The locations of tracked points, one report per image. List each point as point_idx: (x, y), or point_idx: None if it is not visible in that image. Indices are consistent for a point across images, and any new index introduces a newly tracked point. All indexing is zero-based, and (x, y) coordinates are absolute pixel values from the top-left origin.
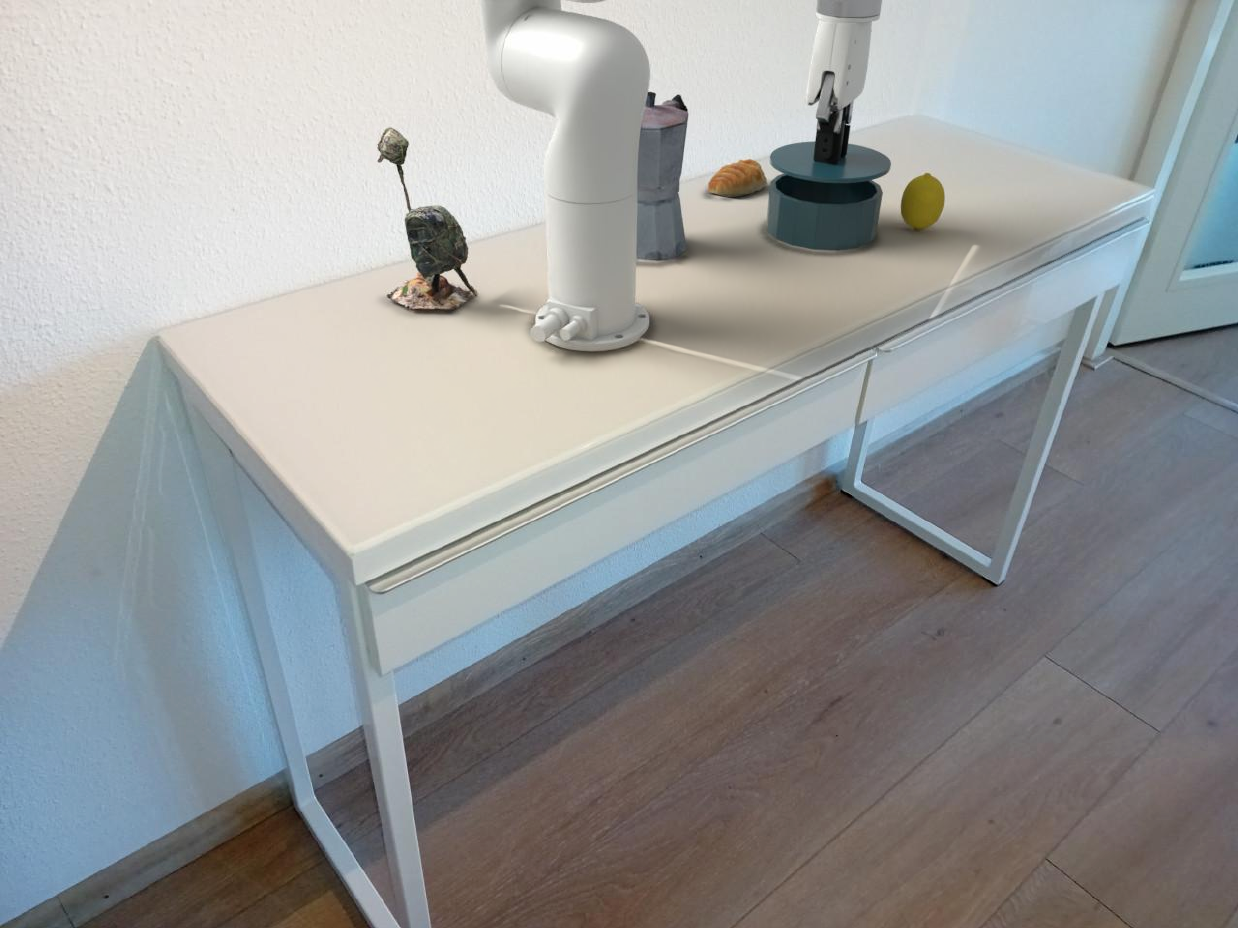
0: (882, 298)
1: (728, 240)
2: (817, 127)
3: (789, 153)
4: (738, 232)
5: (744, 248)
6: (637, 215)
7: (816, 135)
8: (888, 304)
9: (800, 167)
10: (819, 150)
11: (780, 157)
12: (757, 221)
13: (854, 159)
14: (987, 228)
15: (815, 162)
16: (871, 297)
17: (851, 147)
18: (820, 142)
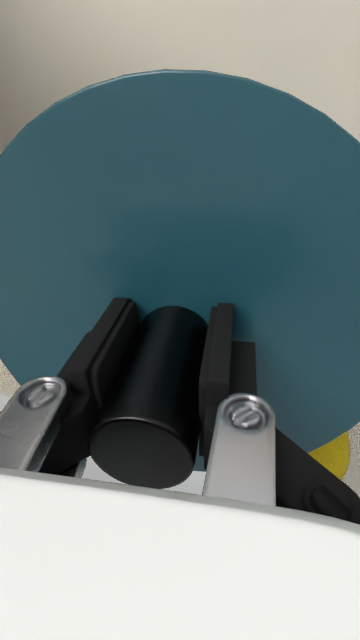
0: (15, 380)
1: (35, 36)
2: (19, 392)
3: (158, 173)
4: (101, 33)
5: (21, 108)
6: None
7: (76, 354)
8: (5, 388)
9: (27, 273)
10: (81, 342)
11: (80, 155)
12: (209, 48)
13: None
14: (353, 468)
15: (108, 304)
16: (7, 369)
17: (351, 372)
18: (67, 362)
